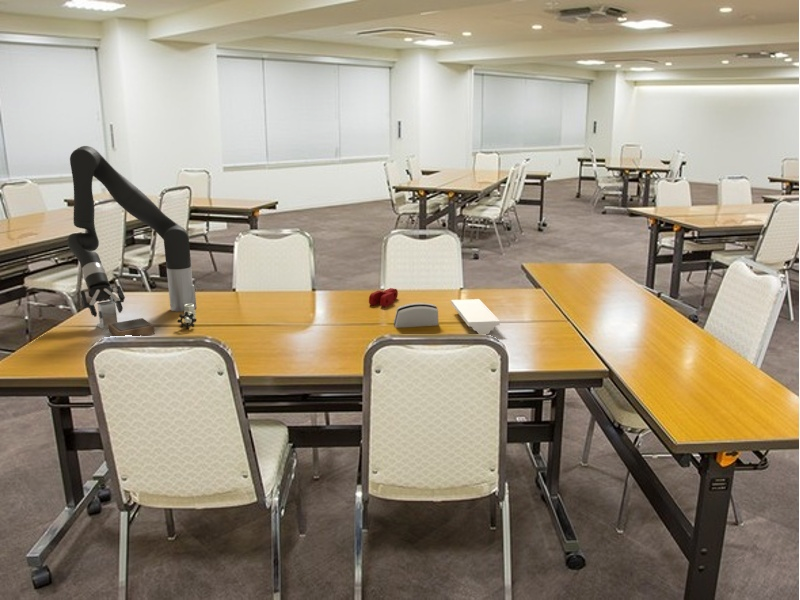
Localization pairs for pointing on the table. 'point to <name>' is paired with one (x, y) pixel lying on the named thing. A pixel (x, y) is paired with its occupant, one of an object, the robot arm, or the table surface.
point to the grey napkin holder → (416, 315)
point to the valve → (188, 316)
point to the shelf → (476, 315)
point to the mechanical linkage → (383, 297)
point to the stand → (131, 328)
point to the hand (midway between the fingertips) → (108, 313)
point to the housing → (106, 314)
